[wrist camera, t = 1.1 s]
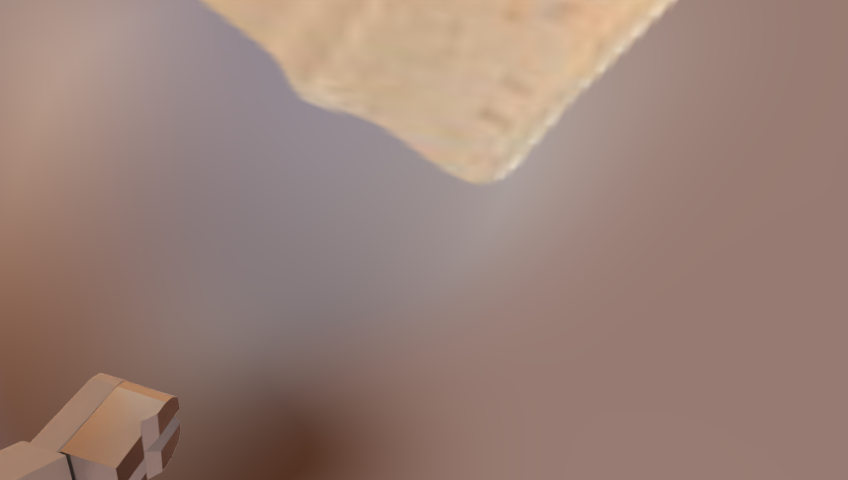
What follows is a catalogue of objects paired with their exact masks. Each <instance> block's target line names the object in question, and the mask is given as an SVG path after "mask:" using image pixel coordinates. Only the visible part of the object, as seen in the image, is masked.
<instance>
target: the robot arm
mask: <svg viewBox="0 0 848 480" xmlns="http://www.w3.org/2000/svg"><path fill="white" fill-rule="evenodd" d="M178 410H179V401H178V397H175V396H172V395H169V394H166V393H162V392H159V391H156V390H153V389H150V388H147V387H143V386H140V385H137V384H134V383H131V382H129V381H126V380H123V379H119V378H116V377H113V376H110V375H106V374H103V373H100V374H98V375H96V376H95V377H93V378H91V379H90V380H89V381H88V382H87V383H86V384H85V385H84V386H83V387H82V388H81V389H80V390H79V392H78V393H77V394H76V395H75V396H74V397H73V398H72V399H71V400H70V401H69V402H68V403H67V404H66V405H65V406H64V408H62V410H61V411H60V412H59V413H58V414H57V415H56V416H55V417H54V418H53V419H52V420H51V421H50V422H49V423H48V424H47V425H46V426H45V428H44V429H43V430H42V431H41V432H40V433H39V434H38V435H37V436H36V437H35V438H34V439H33V440H32V441H31V442H30V443H28V442H24V441H21V442H18V443H16V444H14V445H12V446H9V447H7V448H5V449H3V450H0V480H148V479H149V478H151V477H153V476H155V475H157V474H159V473H160V472H162V471H163V470H164V468H165V467H166V465H167V464H168V462H169V461H170V459H171V458H172V455H173V453H174V451H175V448H176V446H177V444H178V441H179V436H180V422H179V421H178V420H177V419H176V418H175V416H174V415H175V414H176V412H177V411H178Z"/></svg>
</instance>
